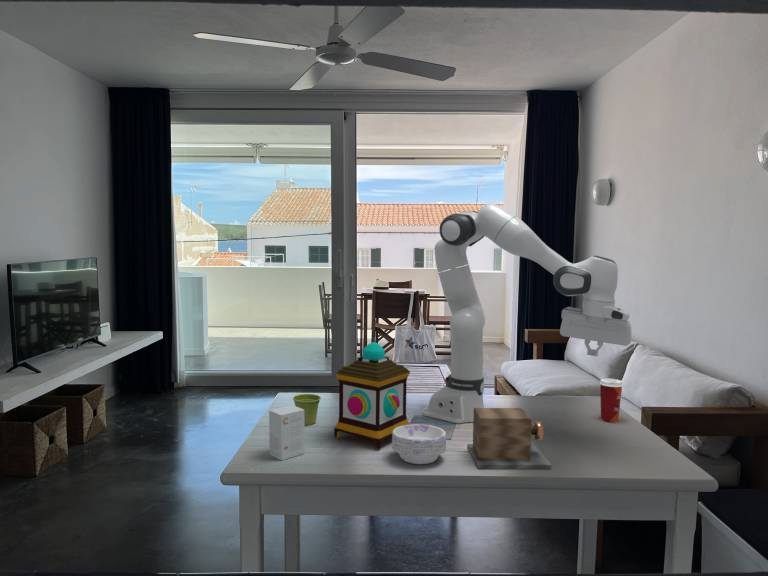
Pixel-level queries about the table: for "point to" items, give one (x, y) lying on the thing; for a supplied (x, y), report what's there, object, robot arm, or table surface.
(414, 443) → the paper bowls
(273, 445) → the small box
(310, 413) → the plant pot
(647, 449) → the table surface
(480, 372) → the robot arm
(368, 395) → the decorative lantern
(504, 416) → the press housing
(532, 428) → the plunger
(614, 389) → the paper cup
